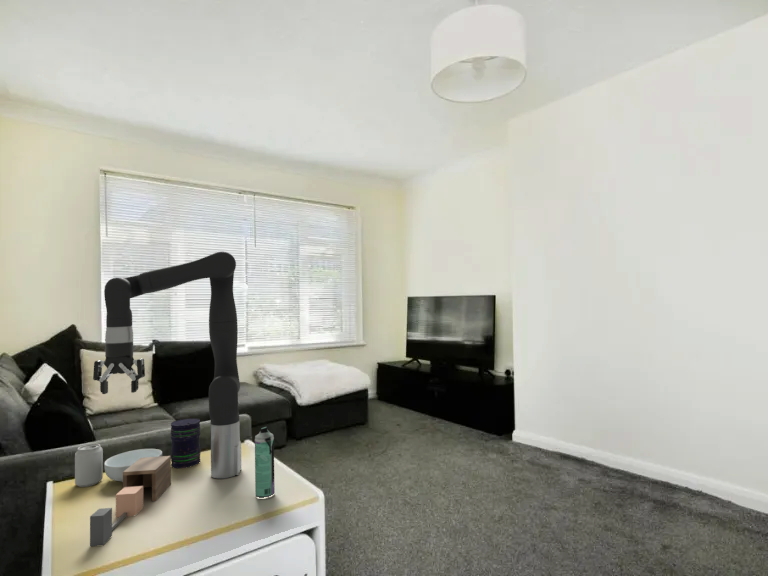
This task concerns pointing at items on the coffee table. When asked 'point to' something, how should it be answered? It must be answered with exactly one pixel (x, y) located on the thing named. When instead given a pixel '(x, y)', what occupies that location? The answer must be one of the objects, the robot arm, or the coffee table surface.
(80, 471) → the can
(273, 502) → the coffee table surface
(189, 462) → the storage jar
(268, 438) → the spray can
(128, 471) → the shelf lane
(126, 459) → the cereal bowl
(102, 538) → the block with cord
